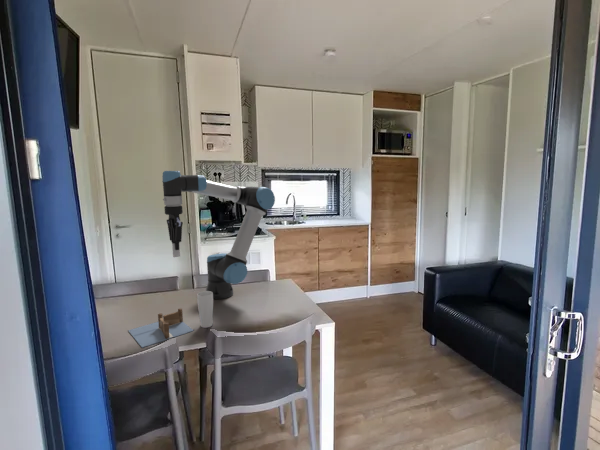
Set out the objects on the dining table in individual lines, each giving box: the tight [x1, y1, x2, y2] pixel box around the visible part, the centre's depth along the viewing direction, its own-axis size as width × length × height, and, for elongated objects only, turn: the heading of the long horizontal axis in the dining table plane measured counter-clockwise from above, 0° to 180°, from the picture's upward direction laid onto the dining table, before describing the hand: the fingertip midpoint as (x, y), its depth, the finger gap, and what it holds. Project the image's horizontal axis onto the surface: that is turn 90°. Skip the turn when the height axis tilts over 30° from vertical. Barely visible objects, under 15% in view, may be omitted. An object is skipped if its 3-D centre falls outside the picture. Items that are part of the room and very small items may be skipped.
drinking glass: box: [196, 290, 214, 329], centre depth 147 cm, size 7×7×15 cm
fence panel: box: [157, 313, 169, 339], centre depth 140 cm, size 13×2×6 cm, turn 34°
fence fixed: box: [163, 307, 184, 326], centre depth 148 cm, size 2×8×6 cm, turn 132°
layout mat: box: [127, 321, 194, 349], centre depth 143 cm, size 19×21×1 cm
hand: (176, 256), depth 152 cm, fingers closed
